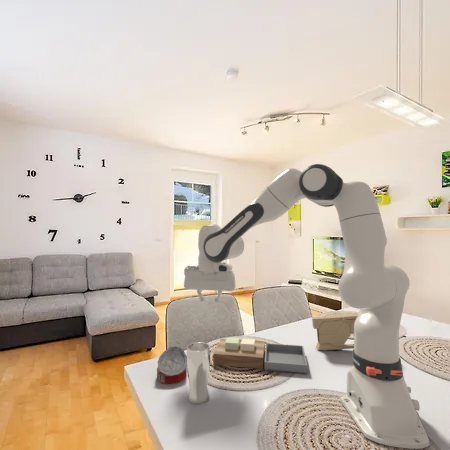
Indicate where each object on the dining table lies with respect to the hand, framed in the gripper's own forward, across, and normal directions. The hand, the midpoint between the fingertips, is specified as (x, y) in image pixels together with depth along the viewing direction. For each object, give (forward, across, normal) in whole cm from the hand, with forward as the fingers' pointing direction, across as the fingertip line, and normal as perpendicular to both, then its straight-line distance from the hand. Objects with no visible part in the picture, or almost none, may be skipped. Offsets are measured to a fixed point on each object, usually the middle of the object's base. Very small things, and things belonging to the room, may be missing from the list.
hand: (209, 301), depth 109 cm
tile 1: (+17, +9, 0) cm, 19 cm away
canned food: (+22, -9, -17) cm, 29 cm away
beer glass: (+21, +3, -27) cm, 35 cm away
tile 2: (+17, +15, 0) cm, 23 cm away
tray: (+21, +29, 0) cm, 36 cm away
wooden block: (+21, +12, 0) cm, 24 cm away
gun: (+22, +53, +14) cm, 59 cm away
